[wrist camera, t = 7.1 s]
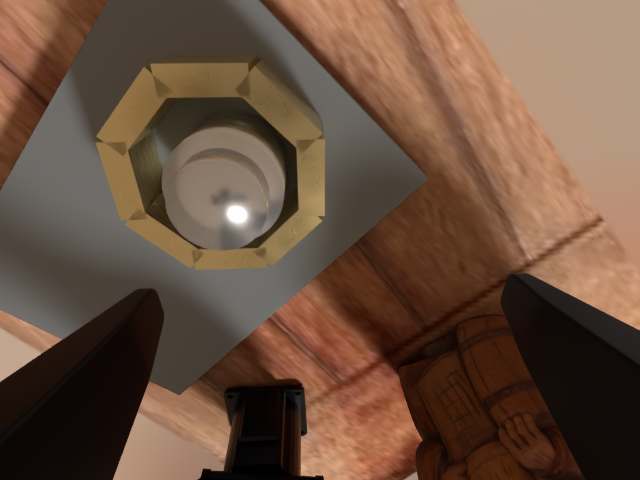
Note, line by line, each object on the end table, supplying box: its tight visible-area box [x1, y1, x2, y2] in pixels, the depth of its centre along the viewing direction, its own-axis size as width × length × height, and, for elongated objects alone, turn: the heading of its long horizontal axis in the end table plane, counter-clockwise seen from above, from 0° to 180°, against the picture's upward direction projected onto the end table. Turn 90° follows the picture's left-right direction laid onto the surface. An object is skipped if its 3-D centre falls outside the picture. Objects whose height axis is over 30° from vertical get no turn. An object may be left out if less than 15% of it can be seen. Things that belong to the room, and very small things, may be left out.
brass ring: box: [95, 56, 325, 270], centre depth 17 cm, size 9×9×3 cm
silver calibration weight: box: [162, 110, 288, 251], centre depth 16 cm, size 5×5×6 cm
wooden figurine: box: [399, 315, 585, 480], centre depth 21 cm, size 12×6×18 cm, turn 132°
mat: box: [0, 0, 428, 395], centre depth 21 cm, size 24×16×2 cm, turn 136°
